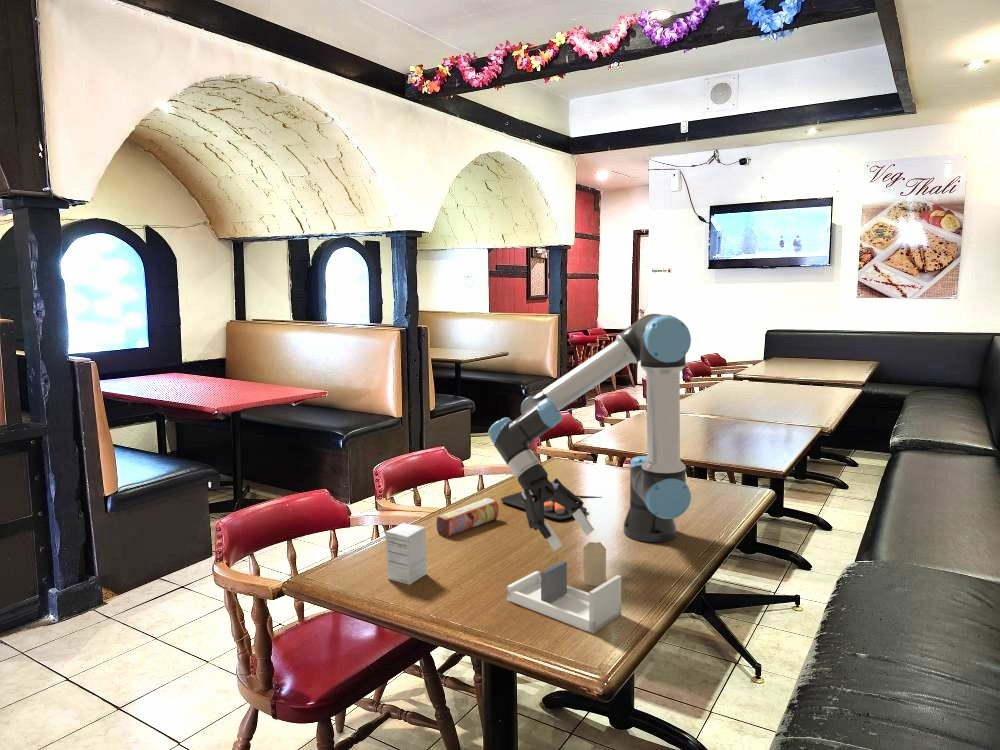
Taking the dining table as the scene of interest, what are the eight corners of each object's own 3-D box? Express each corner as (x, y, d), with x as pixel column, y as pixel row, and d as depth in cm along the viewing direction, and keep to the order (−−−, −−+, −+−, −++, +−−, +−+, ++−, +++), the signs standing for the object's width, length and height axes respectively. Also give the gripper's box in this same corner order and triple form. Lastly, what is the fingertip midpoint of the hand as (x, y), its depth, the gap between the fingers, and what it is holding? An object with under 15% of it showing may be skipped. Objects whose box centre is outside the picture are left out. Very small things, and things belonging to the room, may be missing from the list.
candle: (603, 576, 171) (603, 538, 170) (607, 586, 166) (608, 546, 165) (581, 577, 171) (581, 539, 170) (585, 586, 166) (585, 547, 164)
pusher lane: (536, 584, 167) (536, 549, 166) (620, 614, 152) (621, 576, 150) (507, 600, 159) (506, 563, 158) (593, 633, 143) (593, 593, 142)
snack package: (449, 539, 199) (448, 517, 198) (434, 533, 203) (433, 512, 202) (500, 520, 214) (499, 500, 213) (485, 516, 218) (484, 495, 217)
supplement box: (404, 568, 178) (403, 522, 176) (427, 574, 174) (426, 526, 172) (386, 579, 172) (384, 531, 170) (409, 585, 168) (408, 536, 166)
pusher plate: (562, 591, 160) (562, 560, 159) (566, 593, 159) (566, 561, 158) (541, 604, 154) (540, 571, 153) (545, 605, 153) (545, 573, 152)
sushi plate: (497, 504, 231) (496, 493, 231) (557, 485, 251) (557, 475, 251) (560, 525, 210) (560, 513, 209) (620, 503, 230) (620, 492, 229)
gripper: (549, 469, 189) (594, 534, 181) (488, 489, 171) (535, 562, 163) (565, 453, 185) (611, 519, 177) (504, 473, 167) (552, 547, 159)
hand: (575, 540), depth 170 cm, fingers open, 13 cm apart
